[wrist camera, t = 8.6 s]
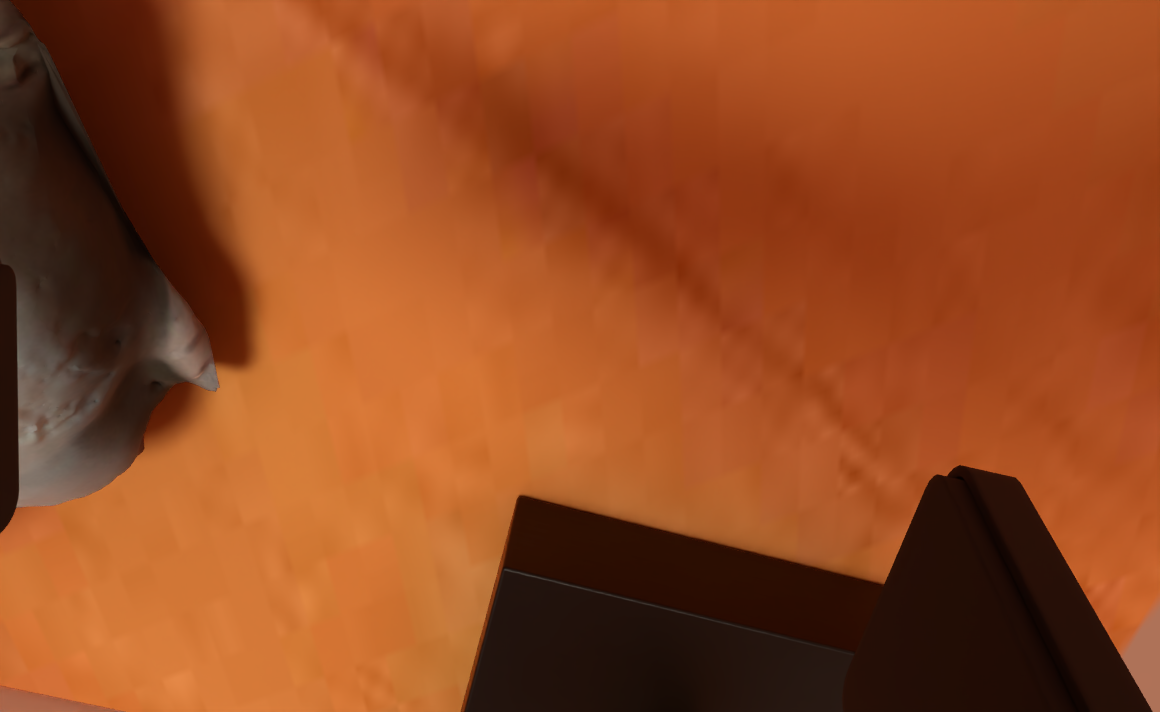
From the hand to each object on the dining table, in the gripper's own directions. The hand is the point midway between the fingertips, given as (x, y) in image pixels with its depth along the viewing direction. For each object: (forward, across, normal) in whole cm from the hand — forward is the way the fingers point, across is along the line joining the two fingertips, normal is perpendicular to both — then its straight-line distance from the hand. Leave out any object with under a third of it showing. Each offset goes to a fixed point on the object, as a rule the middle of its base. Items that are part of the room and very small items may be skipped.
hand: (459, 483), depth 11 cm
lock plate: (+13, -6, +15) cm, 21 cm away
